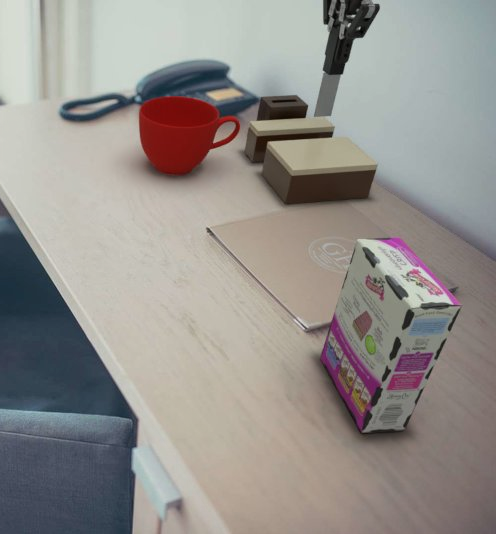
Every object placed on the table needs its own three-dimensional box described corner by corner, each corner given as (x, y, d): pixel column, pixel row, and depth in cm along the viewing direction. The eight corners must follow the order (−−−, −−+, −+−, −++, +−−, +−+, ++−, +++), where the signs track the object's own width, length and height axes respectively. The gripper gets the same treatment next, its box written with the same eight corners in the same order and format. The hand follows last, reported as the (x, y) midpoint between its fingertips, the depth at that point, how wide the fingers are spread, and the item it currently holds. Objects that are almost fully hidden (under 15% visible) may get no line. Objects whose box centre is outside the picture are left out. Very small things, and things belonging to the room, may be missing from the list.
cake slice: (317, 147, 117) (324, 116, 113) (327, 157, 114) (335, 126, 110) (244, 152, 115) (249, 121, 111) (252, 162, 112) (258, 130, 108)
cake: (338, 168, 110) (347, 136, 107) (368, 197, 102) (378, 164, 99) (261, 174, 108) (267, 141, 105) (285, 204, 100) (292, 170, 97)
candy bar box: (408, 431, 64) (466, 306, 55) (361, 435, 64) (411, 309, 54) (359, 354, 73) (402, 234, 64) (317, 356, 73) (354, 236, 63)
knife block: (288, 132, 122) (296, 94, 118) (299, 144, 118) (308, 105, 114) (253, 134, 121) (260, 96, 116) (263, 146, 117) (271, 107, 112)
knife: (327, 113, 110) (348, 25, 101) (333, 118, 108) (355, 29, 99) (310, 113, 109) (330, 26, 101) (317, 119, 107) (337, 30, 99)
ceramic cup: (242, 183, 105) (252, 126, 100) (140, 185, 104) (144, 128, 98) (225, 148, 116) (232, 95, 110) (131, 150, 115) (134, 96, 109)
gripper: (414, -52, 88) (380, 73, 98) (363, -69, 99) (337, 45, 109) (363, -51, 86) (334, 75, 97) (317, -69, 97) (295, 47, 108)
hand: (335, 58), depth 103 cm, fingers closed on knife, 2 cm apart
